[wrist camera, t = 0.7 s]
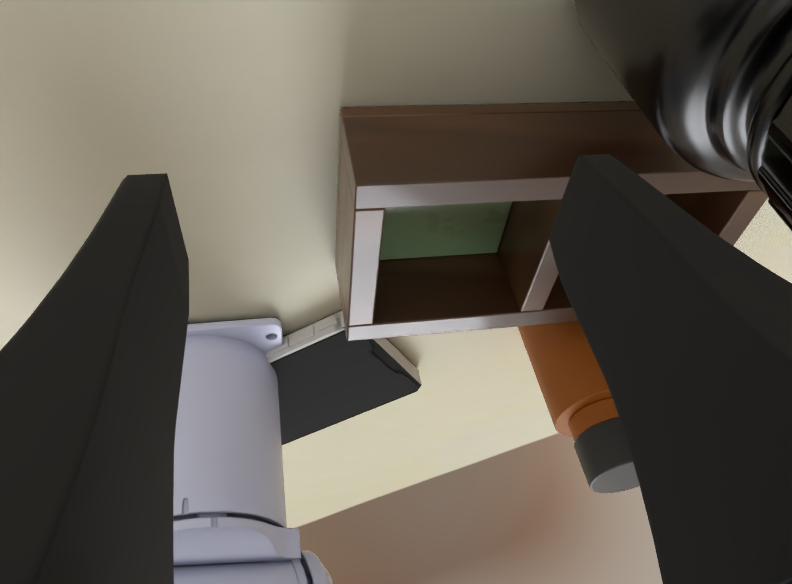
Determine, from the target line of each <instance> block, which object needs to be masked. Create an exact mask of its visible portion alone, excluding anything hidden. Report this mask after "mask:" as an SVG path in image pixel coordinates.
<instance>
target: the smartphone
mask: <svg viewBox="0 0 792 584" xmlns="http://www.w3.org/2000/svg"><path fill="white" fill-rule="evenodd" d="M266 357H267V358H268V362H269V363H270V365H271V366H272V367H273V369H274V370H275V372H276V375H277V380H278V396H279V412H280V429H281V445H284V444H286V443H289V442H291V441H294V440H296V439H299V438H301V437H304V436H306V435H309V434H311V433H314V432H316V431H319V430H321V429H324V428H326V427H329V426H331V425H334V424H336V423H339V422H341V421H344V420H346V419H349V418H351V417H354V416H356V415H359V414H361V413H364V412H366V411H369V410H371V409H374V408H376V407H379V406H381V405H384V404H386V403H389V402H391V401H394V400H396V399H399V398H401V397H404V396H406V395H409V394H411V393H414V392H416V391H418V389H419V388H420V386H421V380H420V376H419V371H418V369H417V368H416V367H415V366H414V365H413V364H412V363H410V362H409V361H408V360H407V359H406V358H405V357H404V356H403V355H402V354H401V353H400V352H399V351H398V350H397V349H396V348H395V347H394V346H393V345H392V344H391V343H390V342H389V341H388V340H387V339H386V338H377V339H365V340H354V341H347V338H346V332H345V325H344V318H343V312H342V311H340V312H338V313H336V314H333V315H331V316H329V317H327V318H325V319H322V320H320V321H318V322H316V323H314V324H311V325H309V326H307V327H305V328H303V329H300V330H298V331H296V332H294V333H292V334H289V335H287V336H285V337H283V345H282V346H280V347H278V348H275V349H273V350H271V351H269V352H267V353H266Z"/></svg>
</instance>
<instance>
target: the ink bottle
mask: <svg viewBox="0 0 792 584" xmlns="http://www.w3.org/2000/svg"><path fill="white" fill-rule="evenodd" d="M574 2H575V6H576V10H577V13H578V16H579V19H580V21H581V23H582V26H583V28H584V30H585V32H586V33H587V35H588V37H589V38H590V40H591V41H592V43H593V44H594V46H595V47H596V48H597V50H598V51H599V53H600V54H601V55H602V57H603V58H604V59H605V61H606V62H607V64H608V65H609V66H610V68H611V69H612V71H613V72H614V73H615V75H616V76H617V77H618V79H619V80H620V82H621V83H622V84H623V86H624V87H625V88H626V90H627V91H628V93H629V94H630V95H631V97H632V98H633V100H634V101H635V102H636V104H637V105H638V106H639V108H640V109H641V111H642V112H643V113H644V115H645V116H646V117H647V119H648V120H649V122H650V123H651V124H652V126H653V127H654V129H655V130H656V131H657V133H658V134H659V135H660V137H661V138H662V139H663V141H664V142H665V143H666V144H667V145H668V147H669V148H670V149H671V150H672V151H673V152H674V153H675V154H676V155H677V156H678V157H680V158H681V159H682V160H683V161H685V162H686V163H688V164H689V165H691V166H692V167H694V168H696V169H698V170H700V171H702V172H704V173H707V174H709V175H712V176H715V177H719V178H723V179H728V180H734V181H743V182H756V184H757V185H758V187H759V188H760V189H761V190H762V191H763V192H764V193H765V194H766V195H767V196H768V197H769V200H768V202H769V204H770V205H771V206H772V208H773V209H774V210H775V211H776V213H777V214H778V215H779V216H780V217H781V219H782V220H783V221H784V222H785V224H786V225H787V226H788V227H789V229H790V230H791V231H792V0H574Z"/></svg>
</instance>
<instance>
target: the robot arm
mask: <svg viewBox="0 0 792 584" xmlns="http://www.w3.org/2000/svg"><path fill="white" fill-rule="evenodd" d="M548 237H549V241H550V245H551V249H552V252H553V256H554V260H555V263H556V267H557V270H558V273H559V276H560V280H561V283H562V285H563V287H564V290H565V292H566V294H567V296H568V299H569V301H570V303H571V305H572V308H573V310H574V312H575V314H576V317H577V319H578V321H579V323H580V325H581V328H582V330H583V332H584V334H585V336H586V338H587V341H588V343H589V345H590V347H591V349H592V351H593V354H594V356H595V358H596V360H597V362H598V365H599V367H600V369H601V371H602V373H603V376H604V378H605V380H606V383H607V385H608V388H609V390H610V393H611V395H612V398H613V400H614V404H615V407H616V410H617V413H618V416H619V419H620V422H621V425H622V428H623V431H624V434H625V437H626V440H627V443H628V447H629V450H630V454H631V457H632V460H633V464H634V467H635V471H636V474H637V478H638V481H639V484H640V488H641V492H642V496H643V500H644V503H645V508H646V512H647V515H648V519H649V523H650V527H651V531H652V535H653V539H654V544H655V549H656V553H657V558H658V563H659V567H660V572H661V577H662V582H663V584H792V283H790V282H788V281H786V280H785V279H783V278H781V277H780V276H778V275H776V274H775V273H773V272H771V271H770V270H768V269H767V268H765V267H764V266H762V265H760V264H759V263H757V262H756V261H754V260H753V259H751V258H750V257H748V256H747V255H746V254H744V253H743V252H741V251H740V250H738V249H737V248H735V247H734V246H732V245H731V244H729V243H728V242H726V241H725V240H724V239H722V238H721V237H720V236H718V235H717V234H715V233H714V232H713V231H711V230H710V229H708V228H707V227H706V226H704V225H703V224H702V223H700V222H699V221H698V220H696V219H695V218H694V217H692V216H691V215H690V214H688V213H687V212H686V211H684V210H683V209H682V208H681V207H679V206H678V205H677V204H675V203H674V202H673V201H671V200H670V199H669V198H668V197H666V196H665V195H664V194H662V193H661V192H660V191H659V190H657V189H656V188H655V187H653V186H652V185H651V184H650V183H648V182H647V181H646V180H644V179H643V178H642V177H640V176H639V175H638V174H636V173H635V172H634V171H633V170H631V169H630V168H628V167H627V166H626V165H624V164H623V163H622V162H620V161H619V160H617V159H616V158H614V157H613V156H611V155H610V154H600V155H578V157H577V160H576V163H575V165H574V168H573V171H572V173H571V176H570V179H569V181H568V184H567V187H566V189H565V192H564V195H563V197H562V200H561V203H560V206H559V208H558V211H557V214H556V216H555V219H554V222H553V224H552V227H551V230H550V232H549V235H548ZM188 317H189V262H188V256H187V252H186V248H185V244H184V240H183V236H182V232H181V228H180V224H179V220H178V216H177V212H176V208H175V204H174V200H173V196H172V192H171V188H170V184H169V180H168V176H167V174H145V175H127V177H126V178H125V179H124V180H123V181H122V182H121V184H120V186H119V187H118V189H117V191H116V193H115V194H114V196H113V198H112V199H111V201H110V203H109V204H108V206H107V208H106V209H105V211H104V213H103V214H102V216H101V218H100V219H99V221H98V222H97V224H96V226H95V227H94V229H93V230H92V232H91V233H90V235H89V237H88V238H87V240H86V241H85V242H84V244H83V245H82V247H81V248H80V250H79V251H78V253H77V254H76V256H75V257H74V259H73V260H72V262H71V263H70V264H69V266H68V267H67V269H66V270H65V272H64V273H63V274H62V276H61V277H60V279H59V280H58V281H57V282H56V284H55V285H54V286H53V288H52V289H51V290H50V291H49V293H48V294H47V295H46V297H45V298H44V299H43V301H42V302H41V303H40V304H39V306H38V307H37V308H36V310H35V311H34V312H33V313H32V315H31V316H30V317H29V318H28V320H27V321H26V322H25V323H24V324H23V326H22V327H21V328H20V329H19V330H18V331H17V333H16V334H15V335H14V336H13V337H12V338H11V339H10V341H9V342H8V343H7V344H6V345H5V346H4V347H3V348H2V349H1V351H0V584H333V582H332V579H331V576H330V574H329V572H328V571H327V569H326V568H325V567H324V566H323V564H322V563H321V561H320V560H319V558H318V557H317V556H316V554H314V553H313V552H311V551H307V550H305V551H301V546H300V532H299V529H298V528H287V526H286V510H285V494H284V477H283V461H282V445H281V429H280V412H279V396H278V380H277V375H276V372H275V370H274V369H273V367H272V366H271V365H270V363H269V362H268V358H267V357H266V353H267V352H269V351H271V350H273V349H275V348H278V347H280V346H282V345H283V338H282V325H281V321H279V320H278V319H276V318H260V319H248V320H235V321H222V322H209V323H196V324H188Z"/></svg>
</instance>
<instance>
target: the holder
mask: <svg viewBox="0 0 792 584" xmlns="http://www.w3.org/2000/svg"><path fill="white" fill-rule="evenodd" d="M600 154H610V155H611V156H613V157H614V158H616V159H617V160H619V161H620V162H622V163H623V164H624V165H626V166H627V167H628V168H630V169H631V170H633V171H634V172H635V173H636V174H638V175H639V176H640V177H642V178H643V179H644V180H646V181H647V182H648V183H650V184H651V185H652V186H653V187H655V188H656V189H657V190H659V191H660V192H661V193H662V194H664V195H665V196H666V197H668V198H669V199H670V200H671V201H673V202H674V203H675V204H677V205H678V206H679V207H681V208H682V209H683V210H684V211H686V212H687V213H688V214H690V215H691V216H692V217H694V218H695V219H696V220H698V221H699V222H700V223H702V224H703V225H704V226H706V227H707V228H708V229H710V230H711V231H713V232H714V233H715V234H717V235H718V236H720V237H721V238H722V239H724V240H725V241H726V242H728V243H729V244H731V245H732V246H734V244H735V243H736V241H737V240H738V239H739V237H740V236H741V234H742V233H743V232H744V230H745V229H746V227H747V226H748V225H749V223H750V222H751V220H752V219H753V218H754V216H755V215H756V213H757V212H758V211H759V209H760V208H761V207H762V205H763V204H764V202H765V201H766V200H767V198H768V196H767V195H766V194H765V193H764V192H763V191H762V190H761V189H760V188H759V187H758V185H757V184H756V182H743V181H734V180H728V179H723V178H719V177H715V176H712V175H709V174H707V173H704V172H702V171H700V170H698V169H696V168H694V167H692V166H691V165H689V164H688V163H686V162H685V161H683V160H682V159H681V158H680V157H678V156H677V155H676V154H675V153H674V152H673V151H672V150H671V149H670V148H669V147H668V145H667V144H666V143H665V142H664V141H663V139H662V138H661V137H660V135H659V134H658V133H657V131H656V130H655V129H654V127H653V126H652V124H651V123H650V122H649V120H648V119H647V117H646V116H645V115H644V113H643V112H642V111H641V109H640V108H639V106H638V105H637V104H636V102H597V103H542V104H487V105H432V106H377V107H341V108H340V127H339V163H338V198H337V234H336V272H337V279H338V285H339V292H340V298H341V305H342V312H343V318H344V325H345V332H346V338H347V341H354V340H365V339H377V338H388V337H400V336H411V335H423V334H435V333H446V332H458V331H469V330H481V329H492V328H504V327H515V326H527V325H538V324H550V323H561V322H573V321H578V319H577V317H576V314H575V312H574V310H573V308H572V305H571V303H570V301H569V299H568V296H567V294H566V292H565V290H564V287H563V285H562V283H561V280H560V276H559V273H558V270H557V267H556V263H555V260H554V256H553V252H552V249H551V245H550V241H549V237H548V235H549V232H550V230H551V227H552V224H553V222H554V219H555V216H556V214H557V211H558V208H559V206H560V203H561V200H562V197H563V195H564V192H565V189H566V187H567V184H568V181H569V179H570V176H571V173H572V171H573V168H574V165H575V163H576V160H577V157H578V155H600Z"/></svg>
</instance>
